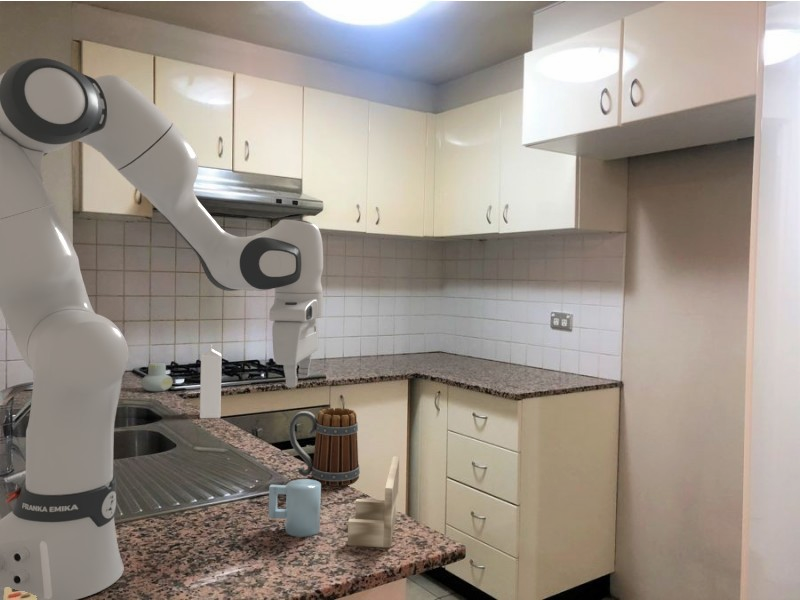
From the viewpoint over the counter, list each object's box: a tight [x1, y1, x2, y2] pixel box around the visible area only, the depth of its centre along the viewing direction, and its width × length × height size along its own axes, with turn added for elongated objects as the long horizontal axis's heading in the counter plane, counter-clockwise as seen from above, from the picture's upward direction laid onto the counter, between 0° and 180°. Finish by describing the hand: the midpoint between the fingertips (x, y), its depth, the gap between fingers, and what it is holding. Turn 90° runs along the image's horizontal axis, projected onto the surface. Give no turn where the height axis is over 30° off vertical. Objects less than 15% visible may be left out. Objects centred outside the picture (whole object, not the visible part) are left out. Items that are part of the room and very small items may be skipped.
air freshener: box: [140, 361, 174, 393], centre depth 224 cm, size 11×8×10 cm
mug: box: [288, 407, 360, 488], centre depth 134 cm, size 16×11×15 cm
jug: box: [267, 478, 322, 538], centre depth 108 cm, size 9×6×8 cm, turn 87°
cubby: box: [347, 455, 400, 549], centre depth 111 cm, size 7×18×10 cm, turn 176°
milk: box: [199, 343, 223, 419], centre depth 188 cm, size 6×6×22 cm
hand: (297, 381), depth 114 cm, fingers open, 8 cm apart
